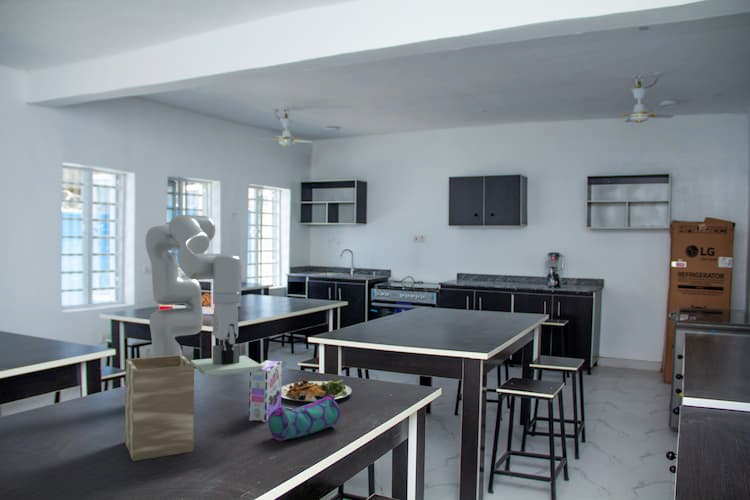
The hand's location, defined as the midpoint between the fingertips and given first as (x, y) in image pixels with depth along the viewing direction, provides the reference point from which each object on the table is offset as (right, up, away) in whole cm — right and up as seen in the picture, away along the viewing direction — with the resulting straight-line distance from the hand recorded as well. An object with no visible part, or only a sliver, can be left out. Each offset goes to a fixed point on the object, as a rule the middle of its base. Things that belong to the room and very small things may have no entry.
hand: (226, 362), depth 168 cm
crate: (-16, -21, -8) cm, 28 cm away
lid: (0, -1, 0) cm, 1 cm away
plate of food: (+20, -21, +45) cm, 54 cm away
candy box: (+7, -21, +21) cm, 31 cm away
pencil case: (+22, -22, +5) cm, 32 cm away
